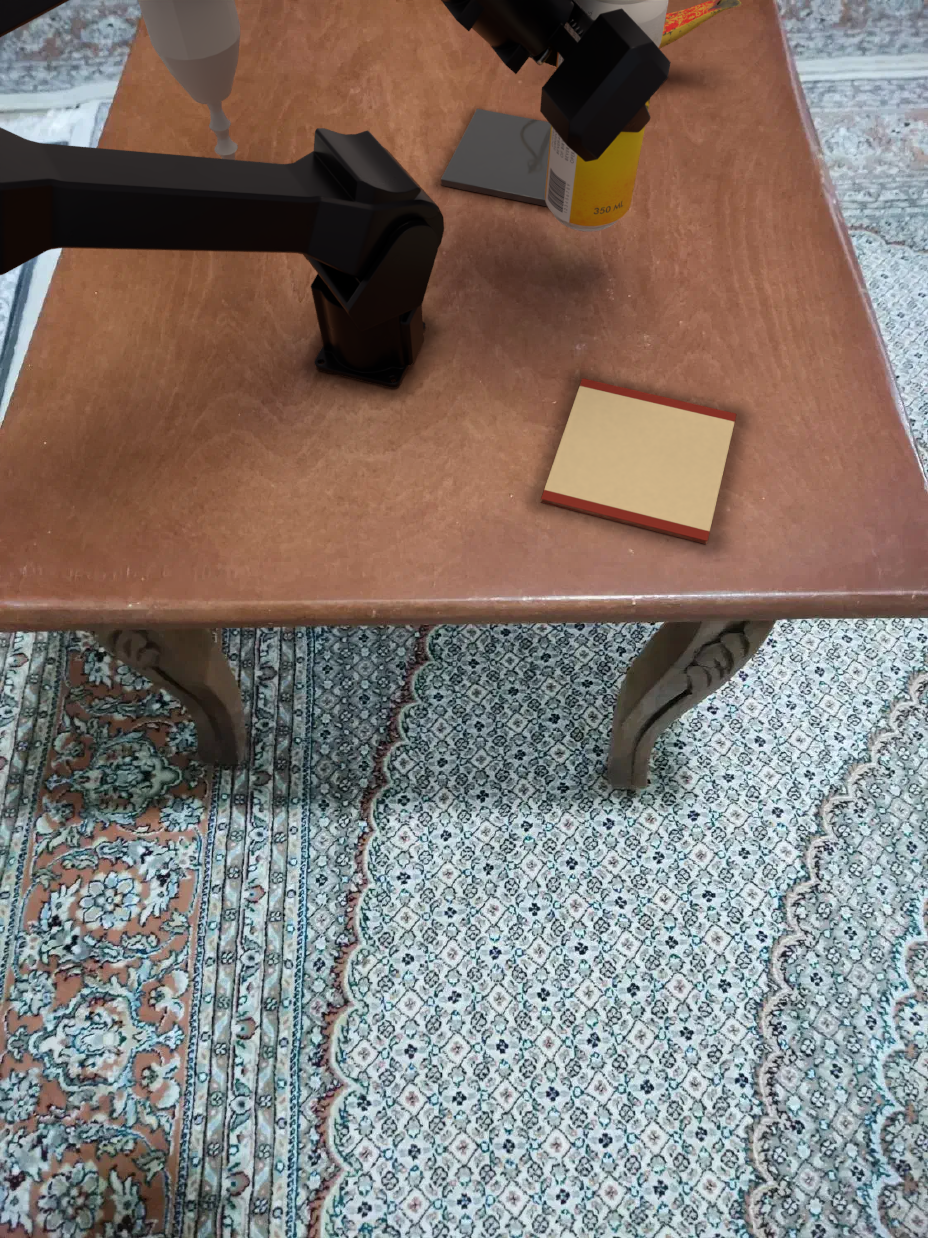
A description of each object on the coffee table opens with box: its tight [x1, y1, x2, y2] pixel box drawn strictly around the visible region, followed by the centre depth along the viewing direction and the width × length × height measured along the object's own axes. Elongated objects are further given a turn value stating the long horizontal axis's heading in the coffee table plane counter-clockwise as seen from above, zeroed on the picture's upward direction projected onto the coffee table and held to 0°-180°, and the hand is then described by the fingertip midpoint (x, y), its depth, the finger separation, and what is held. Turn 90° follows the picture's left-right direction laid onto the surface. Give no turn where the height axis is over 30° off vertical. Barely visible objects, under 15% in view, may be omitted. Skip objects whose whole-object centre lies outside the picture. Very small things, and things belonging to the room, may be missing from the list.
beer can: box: [545, 0, 669, 233], centre depth 56 cm, size 6×6×15 cm
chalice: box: [137, 0, 241, 160], centre depth 65 cm, size 7×7×18 cm
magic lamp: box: [660, 0, 742, 49], centre depth 75 cm, size 7×18×11 cm, turn 85°
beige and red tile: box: [540, 378, 737, 545], centre depth 60 cm, size 11×11×1 cm
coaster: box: [440, 108, 551, 208], centre depth 75 cm, size 10×10×1 cm
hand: (620, 96), depth 57 cm, fingers closed on beer can, 6 cm apart
